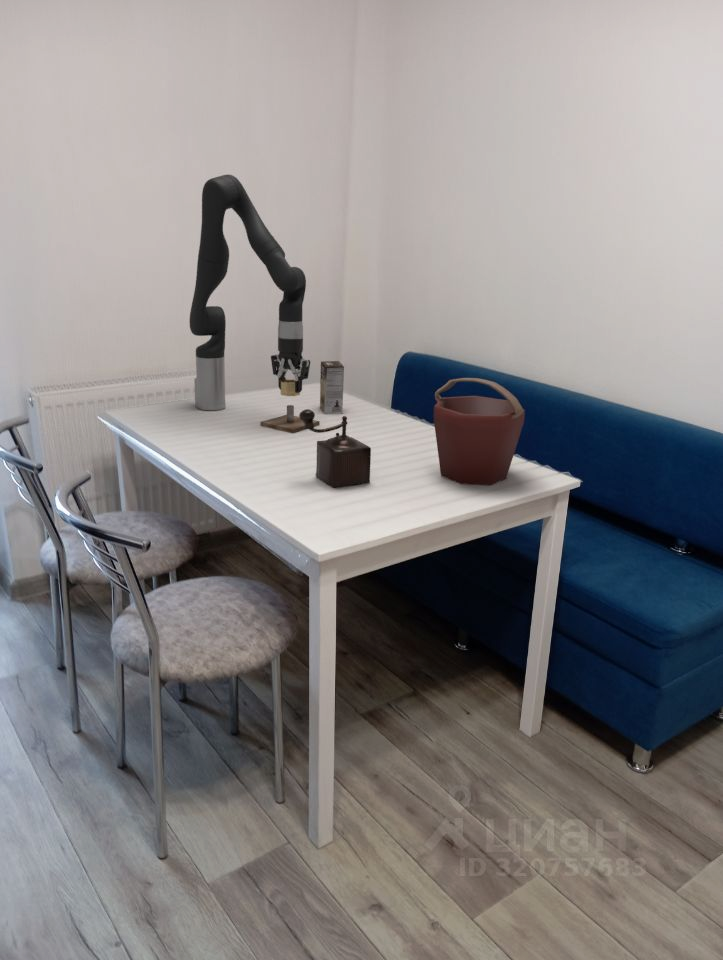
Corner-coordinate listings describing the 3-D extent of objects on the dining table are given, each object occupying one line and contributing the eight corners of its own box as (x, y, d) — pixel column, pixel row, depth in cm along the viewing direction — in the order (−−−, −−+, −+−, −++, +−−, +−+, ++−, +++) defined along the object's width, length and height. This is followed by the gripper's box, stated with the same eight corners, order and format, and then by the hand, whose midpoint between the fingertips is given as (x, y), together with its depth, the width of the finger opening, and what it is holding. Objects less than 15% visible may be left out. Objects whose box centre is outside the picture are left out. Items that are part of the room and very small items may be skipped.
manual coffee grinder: (349, 470, 209) (351, 403, 203) (370, 483, 200) (373, 413, 194) (295, 478, 201) (296, 408, 196) (315, 491, 192) (316, 419, 187)
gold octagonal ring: (277, 394, 246) (277, 381, 244) (288, 391, 250) (289, 378, 249) (291, 396, 243) (291, 383, 241) (303, 394, 247) (303, 381, 246)
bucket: (411, 468, 212) (416, 375, 204) (472, 456, 225) (479, 368, 217) (475, 495, 194) (484, 394, 186) (538, 480, 206) (548, 385, 198)
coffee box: (319, 407, 273) (320, 360, 268) (337, 407, 274) (338, 360, 269) (324, 414, 265) (325, 366, 259) (343, 413, 266) (344, 365, 261)
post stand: (260, 425, 248) (260, 406, 246) (287, 417, 258) (287, 399, 256) (293, 433, 241) (293, 413, 239) (319, 424, 251) (319, 405, 249)
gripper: (264, 334, 242) (264, 389, 247) (301, 339, 234) (300, 396, 239) (280, 331, 247) (280, 385, 253) (317, 337, 240) (316, 392, 245)
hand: (290, 390), depth 246 cm, fingers closed on gold octagonal ring, 5 cm apart
